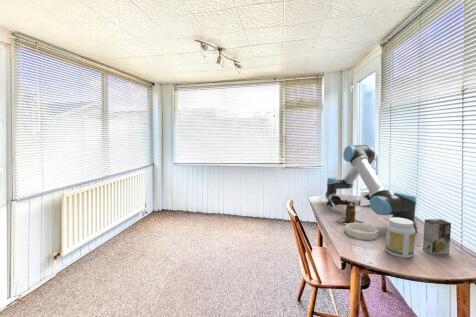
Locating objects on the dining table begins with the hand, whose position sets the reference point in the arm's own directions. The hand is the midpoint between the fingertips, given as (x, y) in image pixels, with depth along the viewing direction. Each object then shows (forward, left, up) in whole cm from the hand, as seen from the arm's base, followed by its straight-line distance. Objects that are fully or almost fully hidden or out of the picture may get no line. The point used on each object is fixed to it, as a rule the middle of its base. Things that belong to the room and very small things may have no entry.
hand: (344, 207), depth 181 cm
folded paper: (-1, -52, -8) cm, 53 cm away
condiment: (-6, +8, -8) cm, 13 cm away
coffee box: (-54, +21, -8) cm, 59 cm away
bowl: (-19, +24, -8) cm, 31 cm away
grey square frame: (-6, +8, -8) cm, 13 cm away
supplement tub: (-41, +36, -8) cm, 55 cm away
